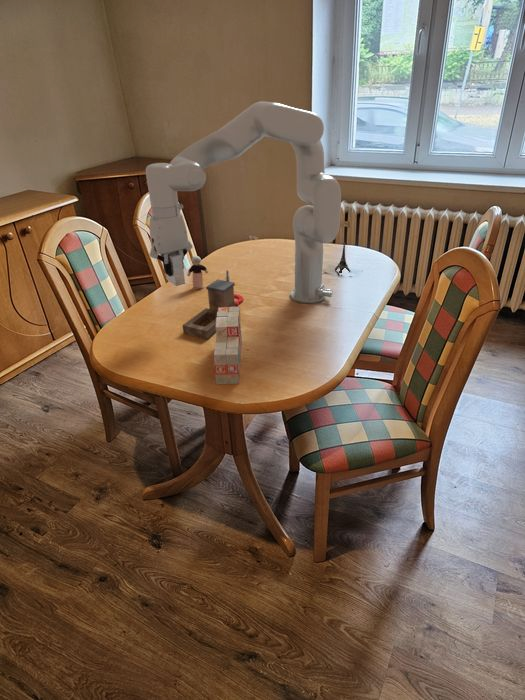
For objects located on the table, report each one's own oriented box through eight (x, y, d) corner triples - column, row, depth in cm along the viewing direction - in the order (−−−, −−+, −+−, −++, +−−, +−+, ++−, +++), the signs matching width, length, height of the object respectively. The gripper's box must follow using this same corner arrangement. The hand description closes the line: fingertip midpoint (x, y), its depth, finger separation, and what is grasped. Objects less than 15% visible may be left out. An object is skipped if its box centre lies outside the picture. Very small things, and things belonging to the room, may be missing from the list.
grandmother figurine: (191, 291, 170) (187, 259, 163) (188, 288, 173) (184, 256, 166) (210, 287, 173) (207, 255, 166) (207, 284, 176) (204, 252, 169)
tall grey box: (175, 276, 141) (171, 248, 137) (185, 283, 136) (181, 254, 132) (166, 278, 140) (161, 250, 135) (176, 286, 135) (171, 257, 130)
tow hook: (222, 296, 167) (216, 306, 159) (220, 262, 161) (214, 270, 153) (245, 297, 166) (240, 307, 158) (244, 263, 160) (239, 271, 152)
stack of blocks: (239, 384, 119) (237, 343, 113) (215, 385, 120) (211, 344, 113) (241, 342, 138) (239, 305, 131) (221, 343, 138) (218, 306, 131)
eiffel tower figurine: (319, 274, 183) (320, 241, 176) (327, 265, 190) (329, 234, 183) (356, 280, 177) (359, 246, 170) (363, 271, 185) (366, 238, 178)
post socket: (239, 313, 154) (237, 283, 148) (207, 339, 139) (204, 307, 134) (216, 308, 157) (214, 278, 152) (183, 333, 143) (179, 301, 137)
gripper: (186, 203, 133) (193, 263, 143) (132, 213, 126) (144, 276, 136) (198, 208, 128) (204, 270, 138) (142, 219, 121) (153, 284, 130)
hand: (174, 272), depth 137 cm, fingers closed on tall grey box, 3 cm apart
